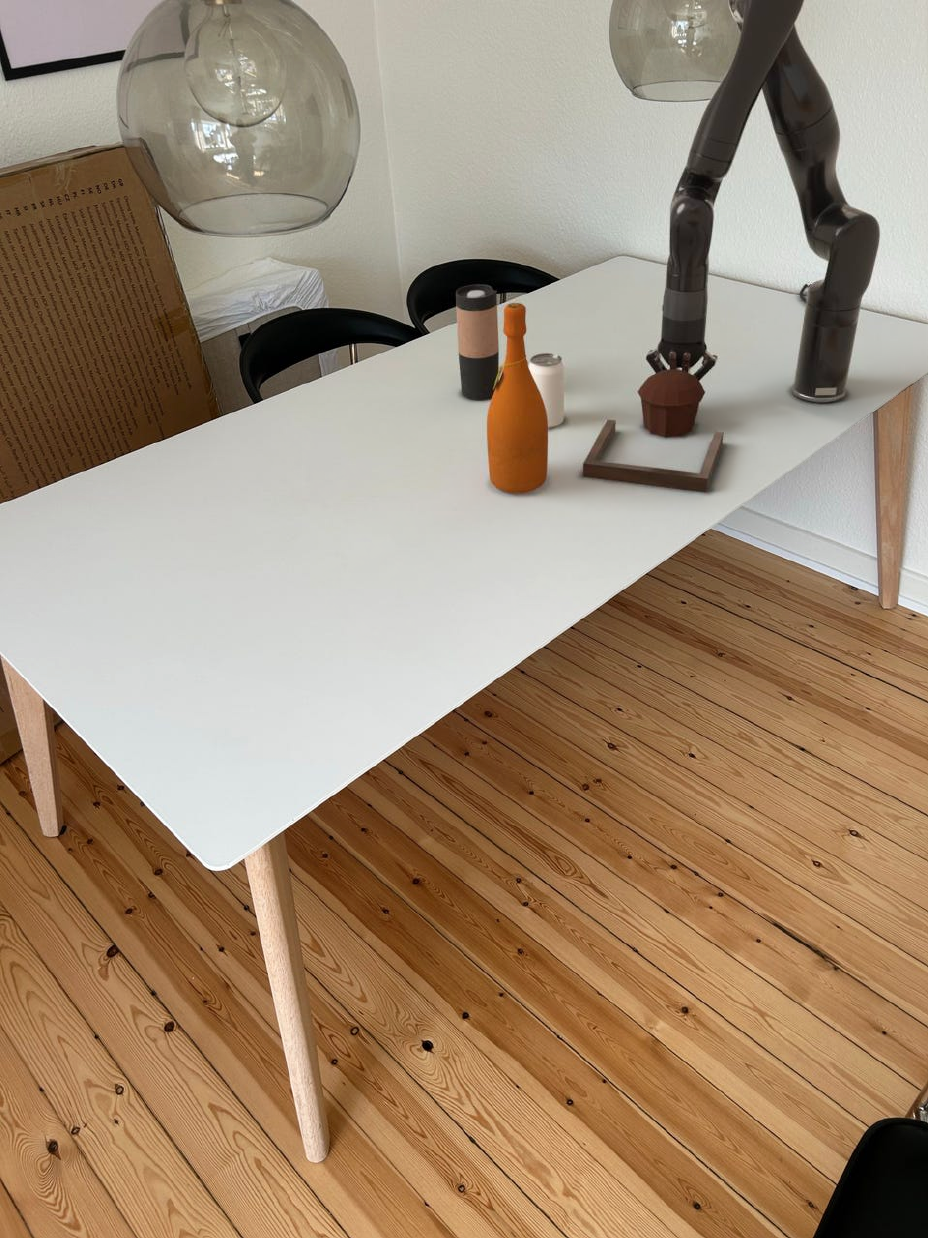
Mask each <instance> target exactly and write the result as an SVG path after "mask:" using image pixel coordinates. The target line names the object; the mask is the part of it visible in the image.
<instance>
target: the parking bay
mask: <svg viewBox="0 0 928 1238" xmlns="http://www.w3.org/2000/svg"><path fill="white" fill-rule="evenodd" d="M616 423H617V420H615V419H607V420H606V422H605V423H604V424H603V427H602V429H601V430H600V432H599V434H598V436H597V438H596V439H595V441H594V443H593V445H592V447H591V449H590V450H589V452H588V453H587V455H586V457H585V459H584V461H583V463H582V477H584V478H590V479H591V478H592V479H600V480H606V481H615V482H620V483H621V482H623V483H631V484H637V485H638V484H639V485H646V486H653V487H661V488H669V489H678V490H683V491H693V492H701V493H707V492H708V488H709V486H710V483H711V480H712V477H713V474H714V472H715V468H716V465H717V463H718V459H719V456H720V454H721V451H722V449H723V445H724V438H725V432H724V431H715V430H714V434H713V436H712V439H711V442H710V445H709V448H708V449H707V452H706V456H705V458H704V461H703V464H702V466H701V469H700V472H693V471H692V472H691V471H685V470H677V469H676V470H675V469H669V468H668V469H667V468H659V467H651V466H645V465H634V464H626V463H619V462H609V461H602V460H603V457H604V455H605V453H606V451H607V449H608V448H609V446H610V444H611V442H612V441H613V439H614V436H615V435H616V426H617V425H616Z"/></svg>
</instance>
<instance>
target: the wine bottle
mask: <svg viewBox="0 0 928 1238" xmlns="http://www.w3.org/2000/svg"><path fill="white" fill-rule="evenodd" d="M526 312H527V308H526V306H525V305H524V304H522V303H520V302H511V303H508V304H507V305H505V306H504V309H503V328H502V332H503V334H504V335H505V337H506V349H505V351H506V352H505V353H506V354H505V359H504V363H503V365H500V366H499V368H498V375H497V378H496V381H495V384H494V387H495V385H496V383H497V381H498V379H499V382H498V384H497V386H496V389H495V391H494V393H493V396H492V398H491V399H490V403H489V407H488V410H487V416H486V443H487V445H486V446H487V459H488V460H487V461H488V473H489V479H490V482H491V484H492V485H493V486H494V488H496V489H497V490H500V491H502V492H505V493H508V494H526V493H531V492H534V491H536V490H538V489H540V488H541V487H542V486H544V484H545V482H546V480H547V479H548V478H547V476H548V463H549V462H548V460H549V428H548V419H547V412H546V408H545V405H544V401H543V399H542V396H541V394H540V391H539V389H538V387H537V385H536V383H535V381H534V379H533V377H532V374H531V372H530V370H529V367H528V366H529V362H528V360H527V354H526V346H525V339H524V336H525V335H526V333H527V324H526V323H527V321H526V314H527V313H526ZM493 390H494V388H493Z"/></svg>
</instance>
